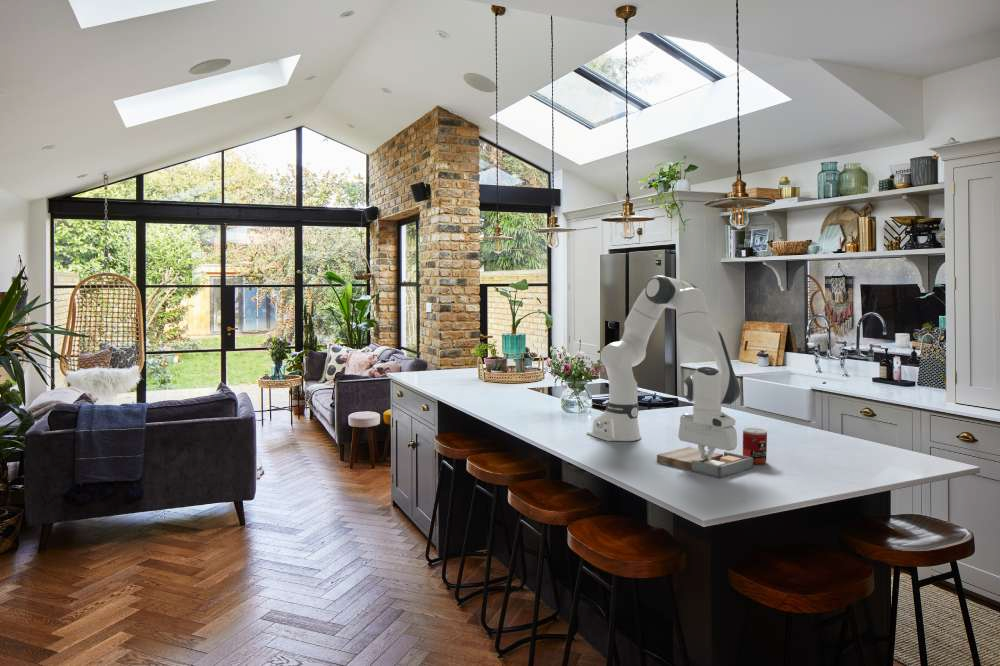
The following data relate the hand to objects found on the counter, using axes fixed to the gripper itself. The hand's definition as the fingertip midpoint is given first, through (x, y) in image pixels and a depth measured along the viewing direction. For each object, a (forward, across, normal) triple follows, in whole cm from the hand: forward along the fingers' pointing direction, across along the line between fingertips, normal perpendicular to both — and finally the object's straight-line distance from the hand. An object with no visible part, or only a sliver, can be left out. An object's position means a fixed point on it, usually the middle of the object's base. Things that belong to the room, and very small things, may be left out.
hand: (706, 458), depth 216 cm
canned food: (+4, +4, +22) cm, 22 cm away
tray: (+4, +3, +4) cm, 7 cm away
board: (+4, -10, +4) cm, 11 cm away
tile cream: (+3, +3, 0) cm, 4 cm away
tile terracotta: (+3, +3, +9) cm, 10 cm away
